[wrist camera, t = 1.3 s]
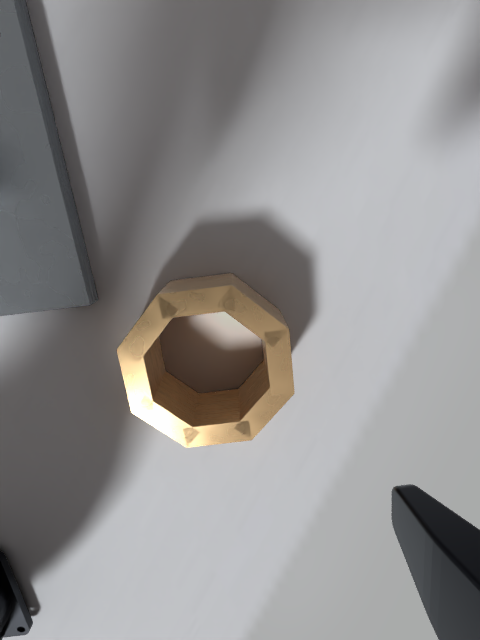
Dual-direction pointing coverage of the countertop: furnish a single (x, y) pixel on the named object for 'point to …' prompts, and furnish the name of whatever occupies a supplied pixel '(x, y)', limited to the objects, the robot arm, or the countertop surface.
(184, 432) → the wooden ring
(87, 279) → the grey peg base
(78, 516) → the countertop surface
